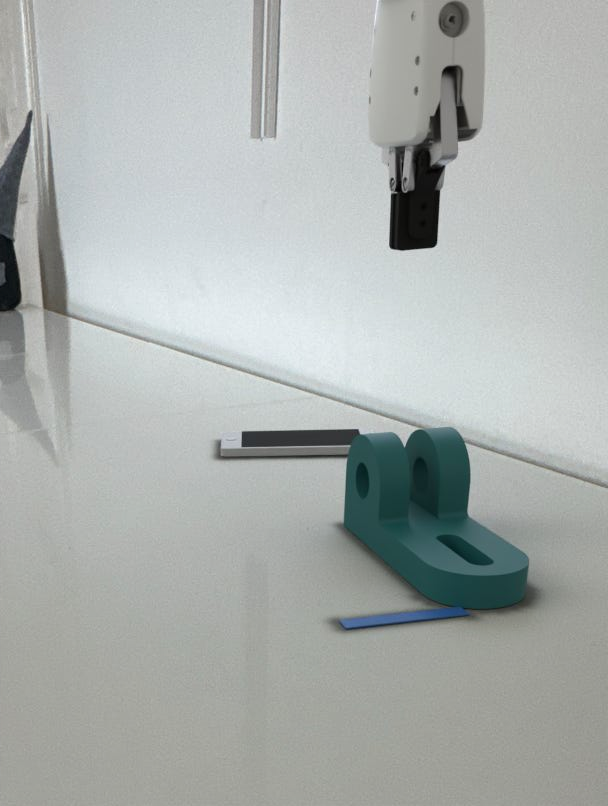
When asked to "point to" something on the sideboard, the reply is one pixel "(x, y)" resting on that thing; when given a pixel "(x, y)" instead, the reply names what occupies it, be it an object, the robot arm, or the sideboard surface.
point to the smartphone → (289, 442)
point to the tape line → (403, 617)
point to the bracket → (429, 519)
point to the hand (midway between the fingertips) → (412, 248)
